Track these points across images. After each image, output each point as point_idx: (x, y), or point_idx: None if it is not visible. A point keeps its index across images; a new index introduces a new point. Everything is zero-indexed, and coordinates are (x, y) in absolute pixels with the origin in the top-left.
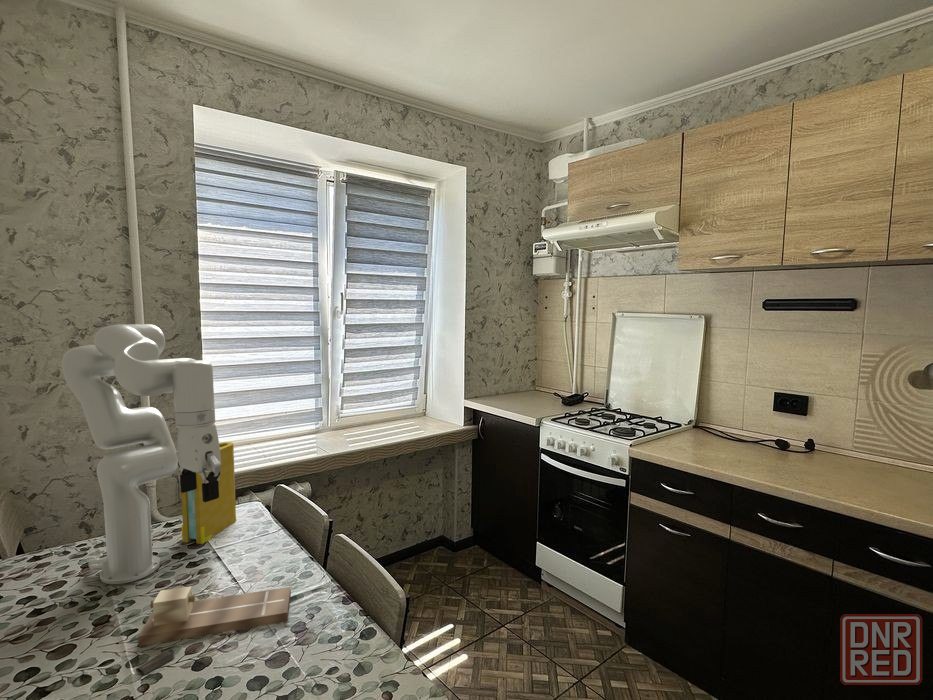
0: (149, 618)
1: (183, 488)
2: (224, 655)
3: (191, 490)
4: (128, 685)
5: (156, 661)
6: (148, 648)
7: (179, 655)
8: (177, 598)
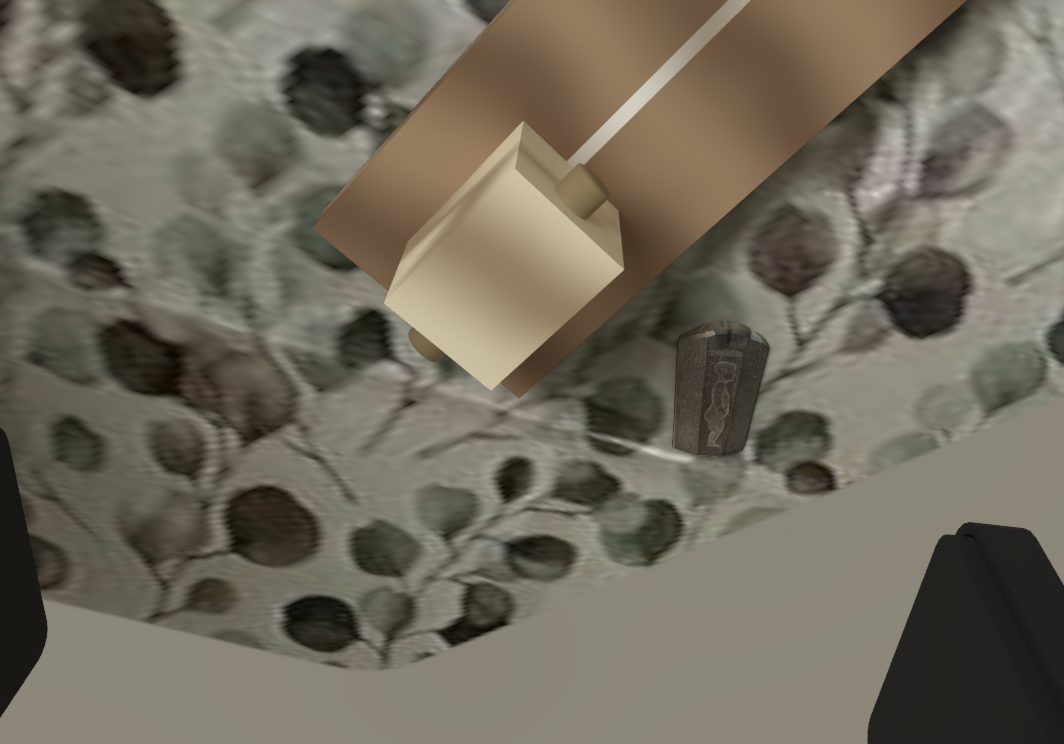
0: None
1: (5, 696)
2: (993, 209)
3: (8, 494)
4: (738, 498)
5: (730, 403)
6: (580, 358)
7: (768, 315)
8: (576, 296)
